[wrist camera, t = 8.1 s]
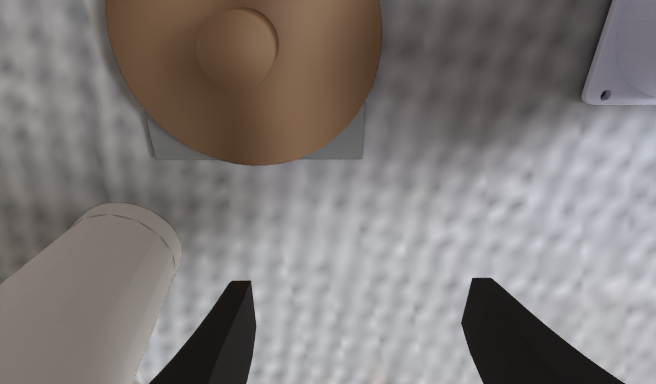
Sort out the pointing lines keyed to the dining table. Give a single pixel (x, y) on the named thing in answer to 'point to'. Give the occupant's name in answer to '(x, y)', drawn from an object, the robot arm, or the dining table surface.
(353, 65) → the lid
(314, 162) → the dining table surface
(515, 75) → the dining table surface
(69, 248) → the cup
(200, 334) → the robot arm
